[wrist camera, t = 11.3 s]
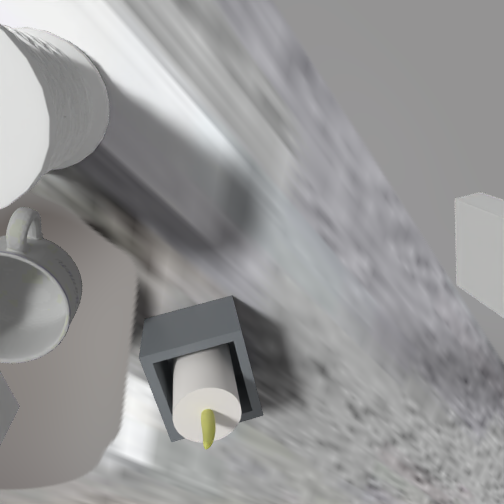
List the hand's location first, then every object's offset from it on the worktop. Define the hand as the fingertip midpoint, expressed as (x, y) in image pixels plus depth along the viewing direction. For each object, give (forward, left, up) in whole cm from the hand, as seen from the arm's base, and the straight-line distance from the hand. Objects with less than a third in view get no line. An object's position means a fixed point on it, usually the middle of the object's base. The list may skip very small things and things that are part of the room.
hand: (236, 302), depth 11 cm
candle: (+22, -5, -31) cm, 38 cm away
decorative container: (-7, -12, -32) cm, 35 cm away
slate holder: (+22, -5, -32) cm, 39 cm away
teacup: (+7, -18, -32) cm, 37 cm away
